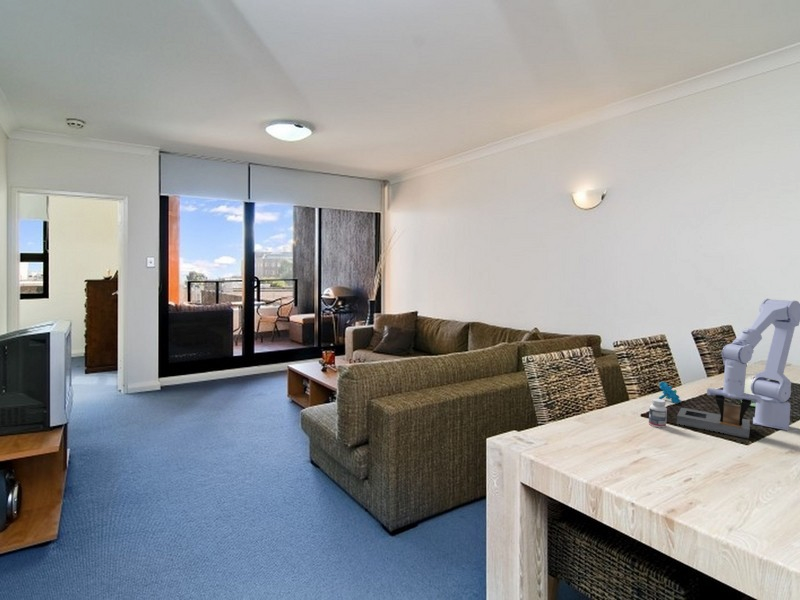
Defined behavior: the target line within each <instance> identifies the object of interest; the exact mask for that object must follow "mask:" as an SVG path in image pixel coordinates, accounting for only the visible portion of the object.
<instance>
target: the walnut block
mask: <svg viewBox="0 0 800 600" xmlns="http://www.w3.org/2000/svg"><path fill="white" fill-rule="evenodd" d="M740 412H741V404H733V403H729V402H728V403H727V402H724V412H723V422H726V423H731V424H736V425H739V419H740Z"/></svg>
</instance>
